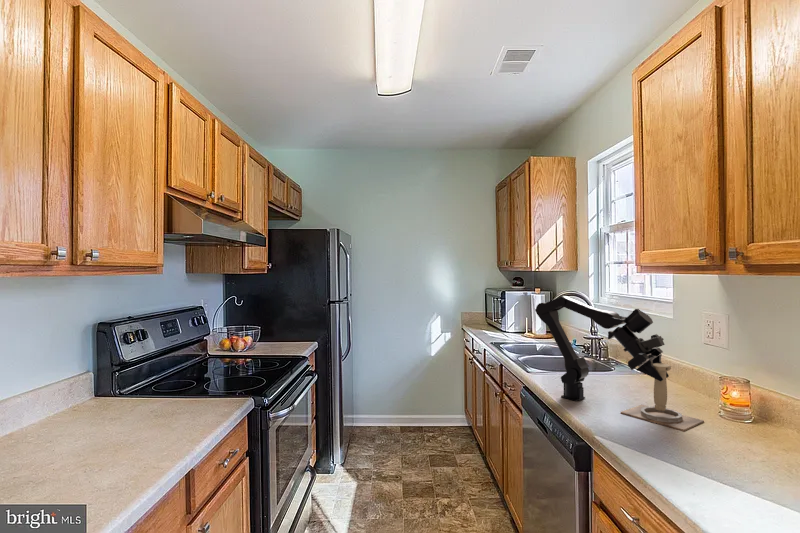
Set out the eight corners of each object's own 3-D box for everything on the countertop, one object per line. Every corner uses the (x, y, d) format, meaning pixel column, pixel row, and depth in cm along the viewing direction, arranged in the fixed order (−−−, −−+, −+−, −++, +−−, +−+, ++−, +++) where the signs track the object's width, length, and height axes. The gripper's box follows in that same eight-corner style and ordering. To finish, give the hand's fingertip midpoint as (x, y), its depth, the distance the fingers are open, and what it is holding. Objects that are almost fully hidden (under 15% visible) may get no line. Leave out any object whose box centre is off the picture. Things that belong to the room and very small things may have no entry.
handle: (674, 410, 146) (674, 365, 146) (658, 412, 144) (659, 367, 144) (661, 406, 150) (661, 362, 150) (646, 408, 148) (646, 364, 148)
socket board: (620, 413, 151) (620, 408, 151) (641, 405, 159) (641, 401, 159) (683, 431, 135) (683, 425, 135) (704, 422, 143) (704, 416, 143)
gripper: (638, 329, 143) (676, 369, 135) (656, 324, 156) (692, 360, 148) (613, 350, 149) (648, 389, 141) (632, 343, 162) (666, 379, 154)
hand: (665, 378), depth 146 cm, fingers closed on handle, 6 cm apart
